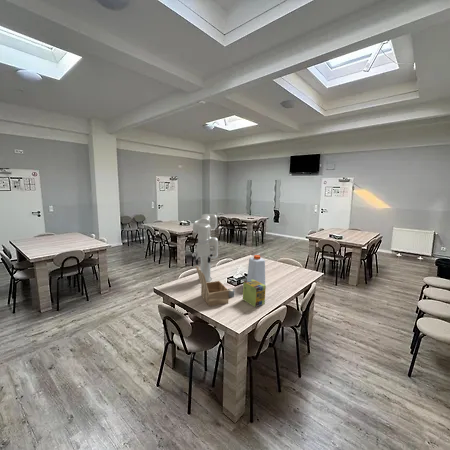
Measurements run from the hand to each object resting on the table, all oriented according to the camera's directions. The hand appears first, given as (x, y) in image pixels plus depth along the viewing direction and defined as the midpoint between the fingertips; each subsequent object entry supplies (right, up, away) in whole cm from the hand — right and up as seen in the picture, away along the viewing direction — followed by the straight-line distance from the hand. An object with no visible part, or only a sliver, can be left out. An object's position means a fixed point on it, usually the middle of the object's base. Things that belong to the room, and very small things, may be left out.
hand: (202, 263), depth 184 cm
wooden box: (+8, -31, +11) cm, 34 cm away
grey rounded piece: (+22, -30, +18) cm, 41 cm away
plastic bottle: (+46, -27, +42) cm, 68 cm away
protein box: (+40, -32, +8) cm, 52 cm away
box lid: (-1, -13, +4) cm, 14 cm away
